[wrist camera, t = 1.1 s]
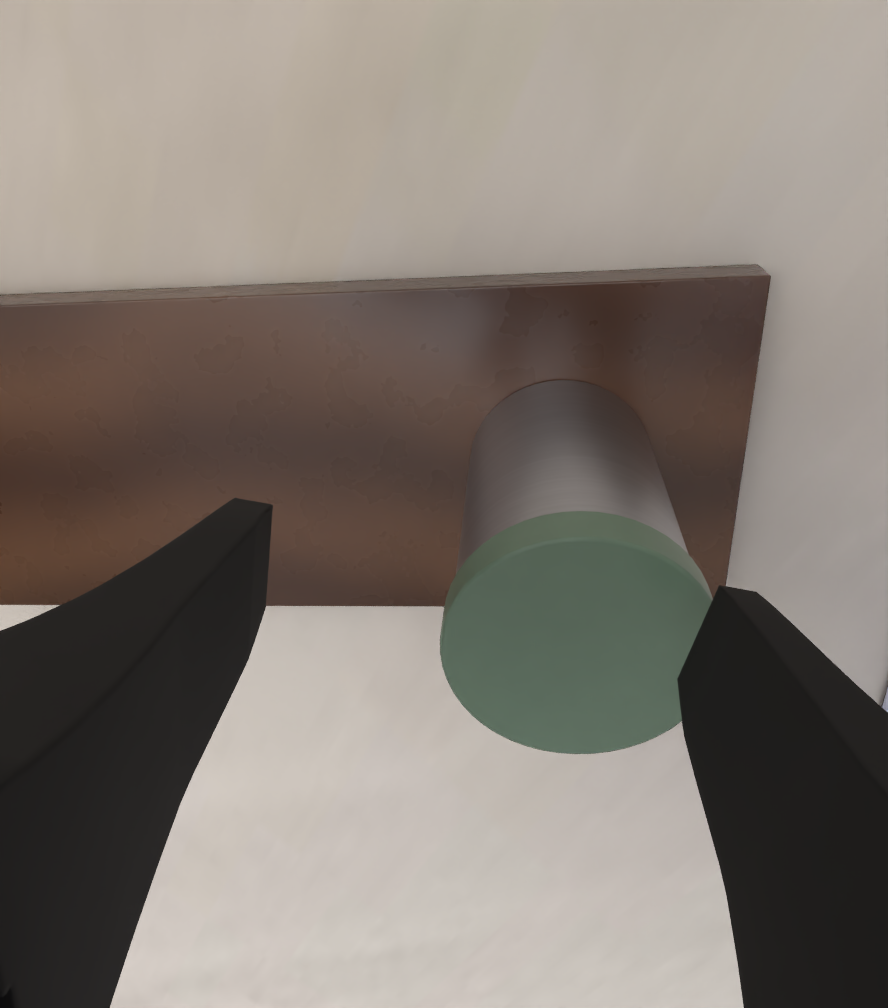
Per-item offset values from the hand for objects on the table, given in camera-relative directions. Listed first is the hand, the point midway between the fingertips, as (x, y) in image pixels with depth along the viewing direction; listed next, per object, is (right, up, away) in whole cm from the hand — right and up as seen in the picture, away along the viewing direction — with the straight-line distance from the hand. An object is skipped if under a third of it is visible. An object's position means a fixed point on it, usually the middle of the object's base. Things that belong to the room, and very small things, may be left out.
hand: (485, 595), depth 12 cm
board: (-4, +3, +11) cm, 12 cm away
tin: (+3, +3, +9) cm, 10 cm away
